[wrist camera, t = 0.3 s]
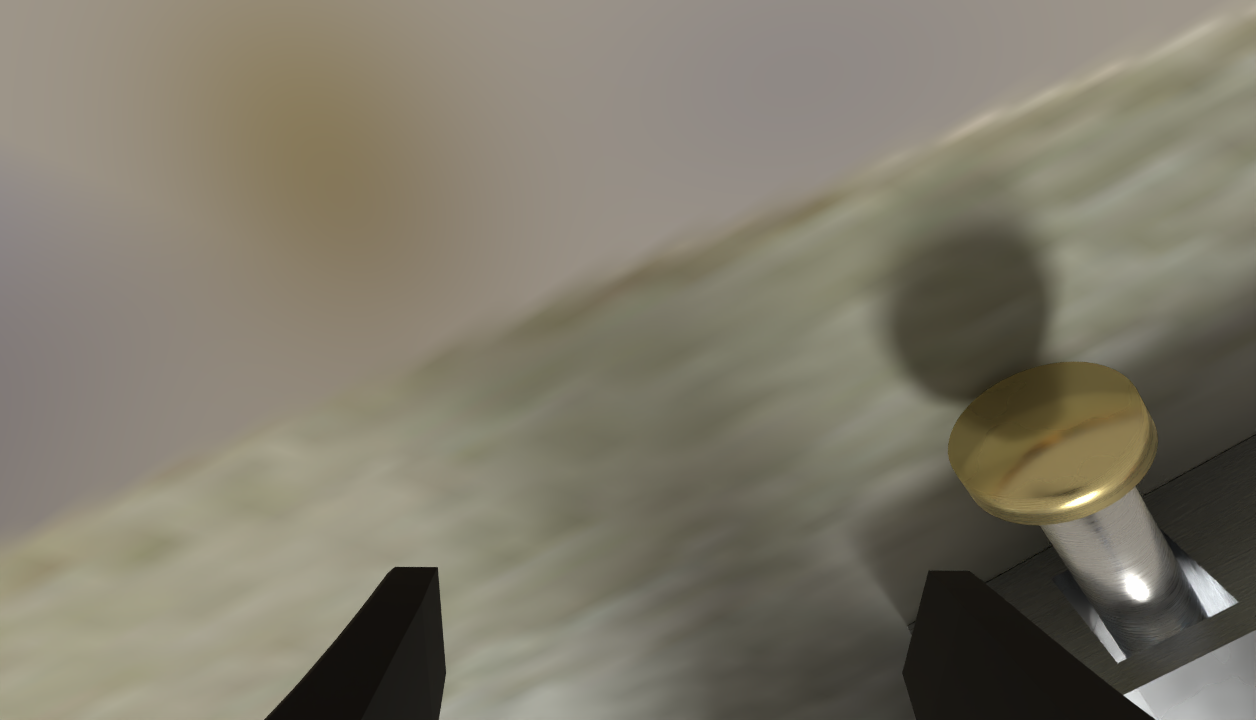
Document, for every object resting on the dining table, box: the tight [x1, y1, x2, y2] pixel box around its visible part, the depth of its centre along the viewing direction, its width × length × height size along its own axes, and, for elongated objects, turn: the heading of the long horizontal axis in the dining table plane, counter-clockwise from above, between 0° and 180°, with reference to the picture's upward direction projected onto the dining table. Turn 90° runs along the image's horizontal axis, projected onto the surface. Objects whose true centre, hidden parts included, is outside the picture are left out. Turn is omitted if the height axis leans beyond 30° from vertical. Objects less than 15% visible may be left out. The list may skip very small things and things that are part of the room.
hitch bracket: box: [908, 435, 1256, 720], centre depth 22 cm, size 6×14×5 cm, turn 127°
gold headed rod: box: [948, 362, 1209, 659], centre depth 20 cm, size 10×4×4 cm, turn 37°
